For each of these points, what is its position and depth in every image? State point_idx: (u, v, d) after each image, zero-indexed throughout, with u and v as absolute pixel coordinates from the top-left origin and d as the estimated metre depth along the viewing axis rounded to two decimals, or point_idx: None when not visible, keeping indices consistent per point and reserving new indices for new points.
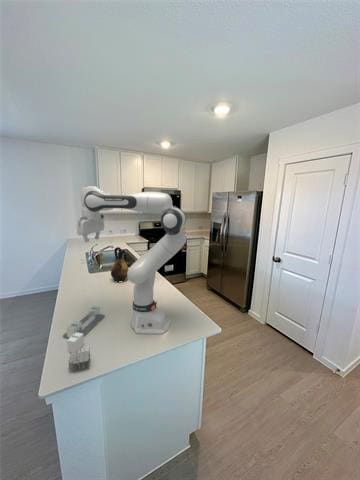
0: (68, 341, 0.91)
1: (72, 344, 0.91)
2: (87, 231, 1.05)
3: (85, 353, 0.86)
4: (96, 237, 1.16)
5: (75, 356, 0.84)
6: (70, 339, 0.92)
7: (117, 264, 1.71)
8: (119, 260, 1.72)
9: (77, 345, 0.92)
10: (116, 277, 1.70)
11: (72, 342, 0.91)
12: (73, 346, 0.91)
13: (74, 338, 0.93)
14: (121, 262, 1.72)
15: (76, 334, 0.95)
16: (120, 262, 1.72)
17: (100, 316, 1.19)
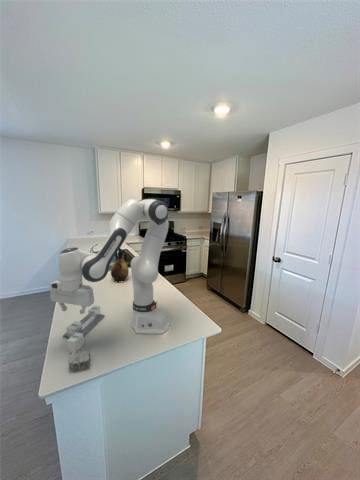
0: (68, 341, 0.91)
1: (72, 344, 0.91)
2: None
3: (85, 353, 0.86)
4: (65, 308, 0.92)
5: (75, 356, 0.84)
6: (70, 339, 0.92)
7: (117, 264, 1.71)
8: (119, 260, 1.72)
9: (77, 345, 0.92)
10: (116, 277, 1.70)
11: (72, 342, 0.91)
12: (73, 346, 0.91)
13: (74, 338, 0.93)
14: (121, 262, 1.72)
15: (76, 334, 0.95)
16: (120, 262, 1.72)
17: (100, 316, 1.19)
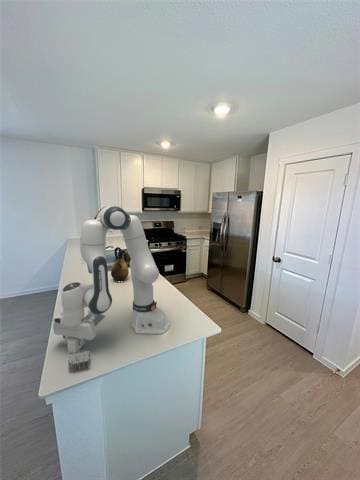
0: (68, 341, 0.91)
1: (72, 343, 0.91)
2: None
3: (85, 353, 0.86)
4: None
5: (75, 356, 0.84)
6: (70, 339, 0.92)
7: (117, 264, 1.71)
8: (119, 260, 1.72)
9: (77, 345, 0.92)
10: (116, 277, 1.70)
11: (72, 342, 0.91)
12: (73, 346, 0.91)
13: (74, 338, 0.92)
14: (121, 262, 1.72)
15: None
16: (120, 262, 1.72)
17: (100, 316, 1.19)
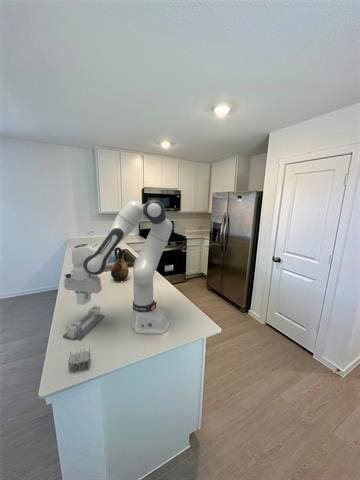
0: (77, 294, 1.05)
1: (80, 296, 1.04)
2: None
3: (85, 353, 0.86)
4: None
5: (75, 356, 0.84)
6: (79, 293, 1.05)
7: (117, 264, 1.71)
8: (119, 260, 1.72)
9: (85, 298, 1.06)
10: (116, 277, 1.70)
11: (80, 295, 1.04)
12: (81, 299, 1.05)
13: (82, 292, 1.06)
14: (121, 262, 1.72)
15: None
16: (120, 262, 1.72)
17: (100, 316, 1.19)
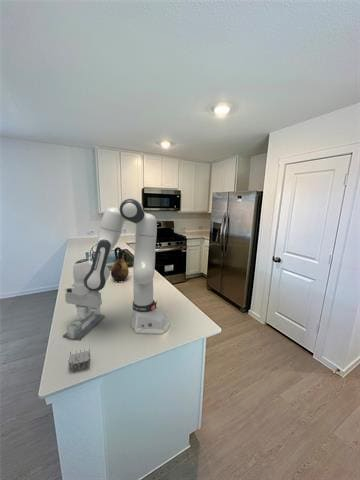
0: (78, 308, 1.06)
1: (81, 310, 1.06)
2: None
3: (85, 353, 0.86)
4: None
5: (75, 356, 0.84)
6: (79, 307, 1.07)
7: (117, 264, 1.71)
8: (119, 260, 1.72)
9: (85, 312, 1.08)
10: (116, 277, 1.70)
11: (81, 309, 1.06)
12: (82, 313, 1.06)
13: (83, 306, 1.08)
14: (121, 262, 1.72)
15: None
16: (120, 262, 1.72)
17: (100, 316, 1.19)
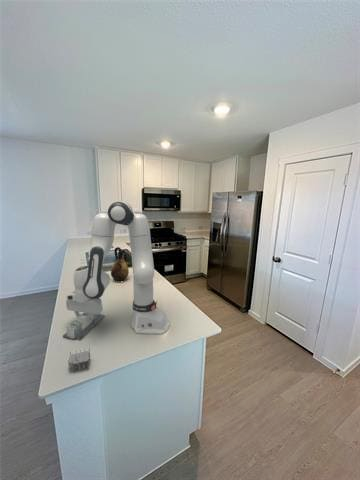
0: (79, 317, 1.07)
1: (82, 320, 1.07)
2: None
3: (85, 353, 0.86)
4: (79, 315, 1.11)
5: (75, 356, 0.84)
6: (81, 316, 1.08)
7: (117, 264, 1.71)
8: (119, 260, 1.72)
9: (86, 321, 1.09)
10: (116, 277, 1.70)
11: (82, 319, 1.07)
12: (83, 322, 1.07)
13: (84, 315, 1.09)
14: (121, 262, 1.72)
15: None
16: (120, 262, 1.72)
17: (100, 316, 1.19)
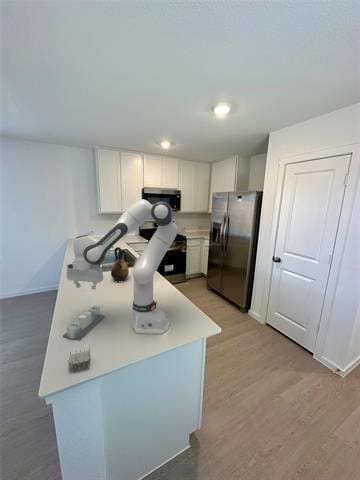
0: (79, 317, 1.07)
1: (82, 320, 1.07)
2: None
3: (85, 353, 0.86)
4: (79, 285, 1.11)
5: (75, 356, 0.84)
6: (81, 316, 1.08)
7: (117, 264, 1.71)
8: (119, 260, 1.72)
9: (86, 321, 1.09)
10: (116, 277, 1.70)
11: (82, 319, 1.07)
12: (83, 322, 1.07)
13: (84, 315, 1.09)
14: (121, 262, 1.72)
15: (85, 312, 1.12)
16: (120, 262, 1.72)
17: (100, 316, 1.19)
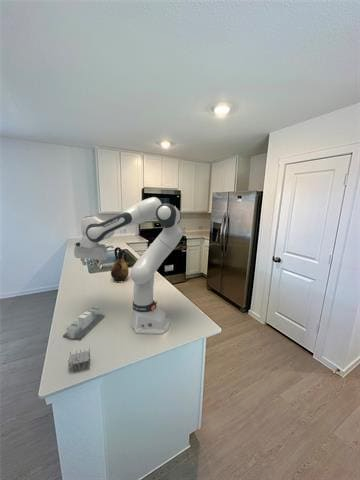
0: (79, 317, 1.07)
1: (82, 320, 1.07)
2: None
3: (85, 353, 0.86)
4: (85, 263, 1.20)
5: (74, 356, 0.84)
6: (81, 316, 1.08)
7: (117, 264, 1.71)
8: (119, 260, 1.72)
9: (86, 321, 1.09)
10: (116, 277, 1.70)
11: (82, 319, 1.07)
12: (83, 322, 1.07)
13: (84, 315, 1.09)
14: (121, 262, 1.72)
15: (85, 312, 1.12)
16: (120, 262, 1.72)
17: (100, 316, 1.19)
